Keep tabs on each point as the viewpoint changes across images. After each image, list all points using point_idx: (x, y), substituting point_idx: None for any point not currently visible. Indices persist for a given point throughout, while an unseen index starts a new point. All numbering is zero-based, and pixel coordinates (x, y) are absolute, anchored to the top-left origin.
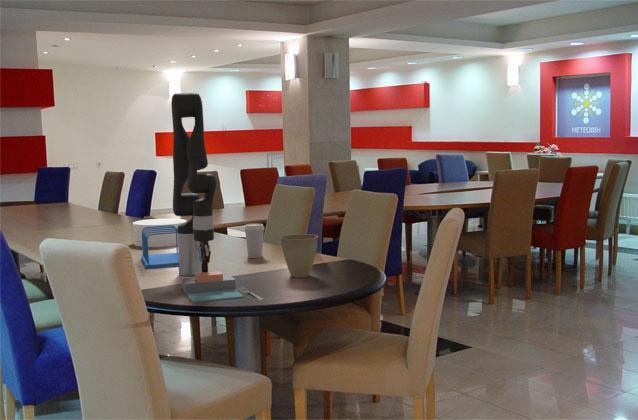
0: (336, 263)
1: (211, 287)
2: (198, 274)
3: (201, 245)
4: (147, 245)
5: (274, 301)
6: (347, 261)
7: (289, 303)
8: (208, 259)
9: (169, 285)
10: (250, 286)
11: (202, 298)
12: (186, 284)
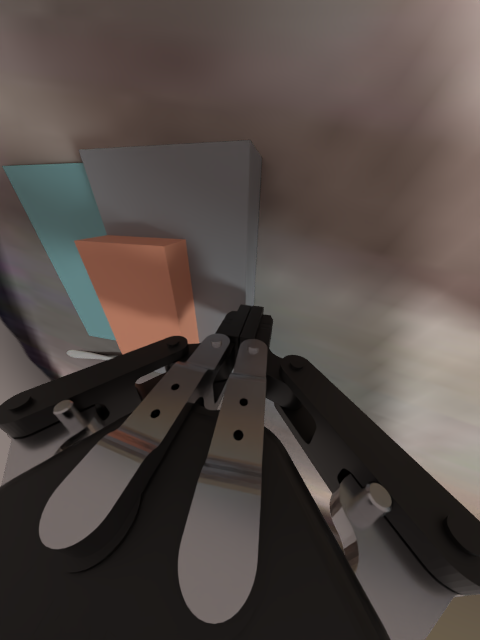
0: (338, 541)
1: None
2: (119, 255)
3: (90, 578)
4: None
5: (66, 363)
6: (341, 549)
7: (56, 374)
8: (147, 383)
9: (448, 61)
10: None
11: (48, 219)
12: (83, 155)
